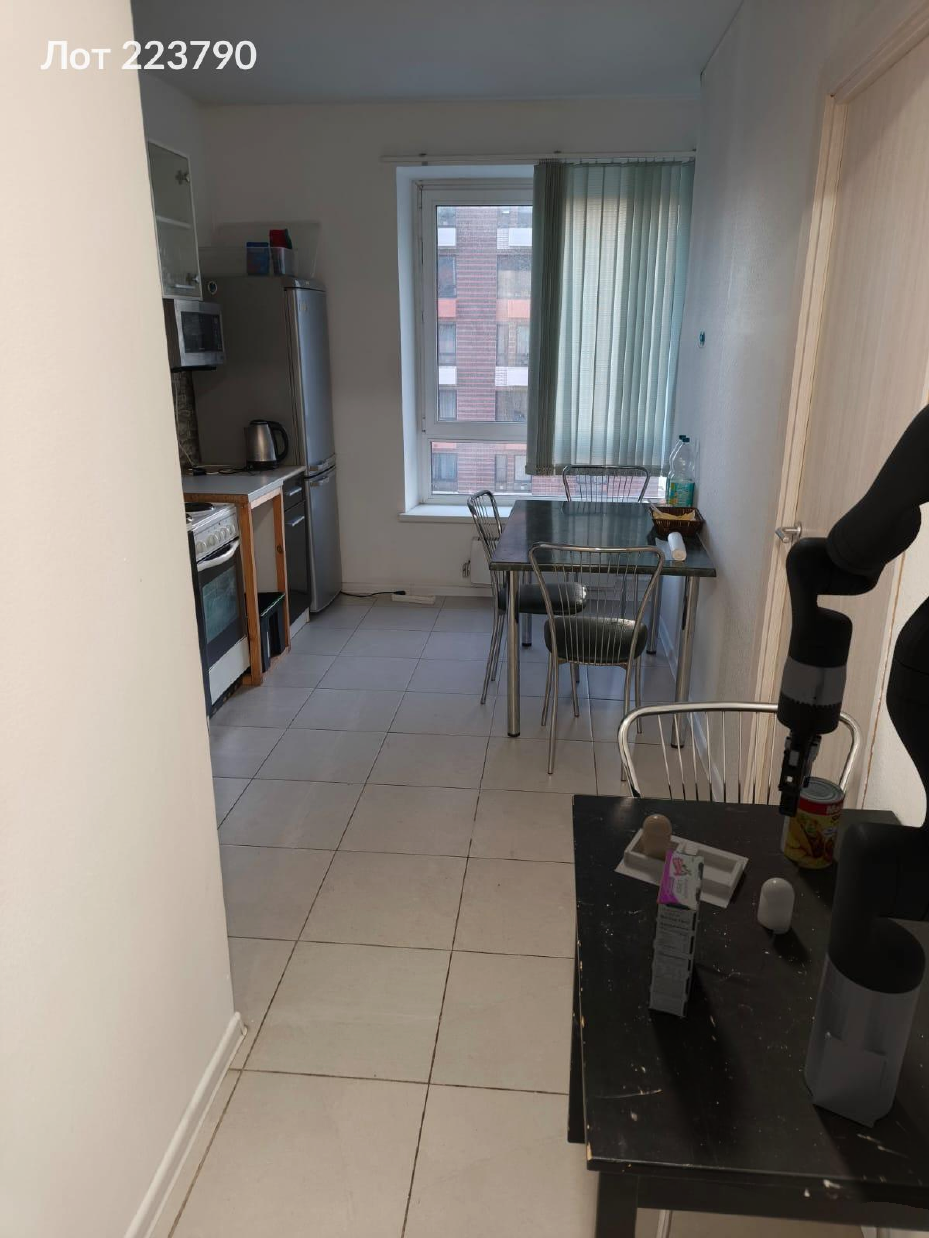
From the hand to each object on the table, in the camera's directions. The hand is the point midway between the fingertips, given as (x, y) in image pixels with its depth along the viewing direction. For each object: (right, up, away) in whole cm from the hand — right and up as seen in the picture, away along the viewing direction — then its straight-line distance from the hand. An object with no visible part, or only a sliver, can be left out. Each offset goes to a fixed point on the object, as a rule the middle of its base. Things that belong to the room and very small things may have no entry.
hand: (793, 799), depth 115 cm
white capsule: (0, -19, +7) cm, 20 cm away
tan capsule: (-14, -13, +21) cm, 28 cm away
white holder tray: (-10, -15, +19) cm, 26 cm away
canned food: (+11, -14, +23) cm, 28 cm away
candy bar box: (-18, -23, -4) cm, 29 cm away
